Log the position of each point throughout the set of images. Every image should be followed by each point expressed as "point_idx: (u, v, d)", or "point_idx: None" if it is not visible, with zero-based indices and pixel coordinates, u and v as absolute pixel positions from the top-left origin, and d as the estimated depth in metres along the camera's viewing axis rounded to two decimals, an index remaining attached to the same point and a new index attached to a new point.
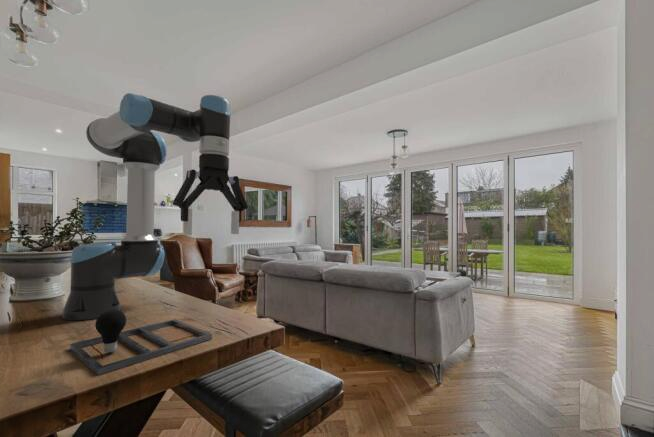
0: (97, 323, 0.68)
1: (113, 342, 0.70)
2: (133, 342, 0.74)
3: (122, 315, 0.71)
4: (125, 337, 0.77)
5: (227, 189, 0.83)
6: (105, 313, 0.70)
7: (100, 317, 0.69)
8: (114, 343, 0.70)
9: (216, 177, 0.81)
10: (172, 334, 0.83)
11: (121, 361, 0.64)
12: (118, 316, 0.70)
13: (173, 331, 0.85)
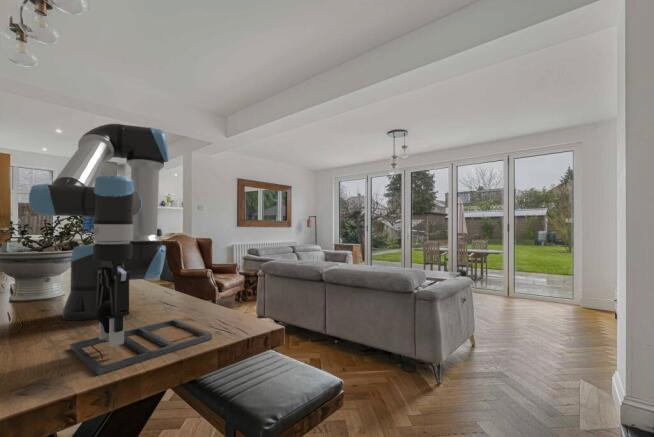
0: (98, 313, 0.69)
1: None
2: (133, 342, 0.74)
3: None
4: (125, 337, 0.77)
5: (107, 285, 0.69)
6: (106, 303, 0.70)
7: (101, 307, 0.69)
8: None
9: (107, 268, 0.70)
10: (172, 334, 0.83)
11: (121, 361, 0.64)
12: None
13: (173, 331, 0.85)
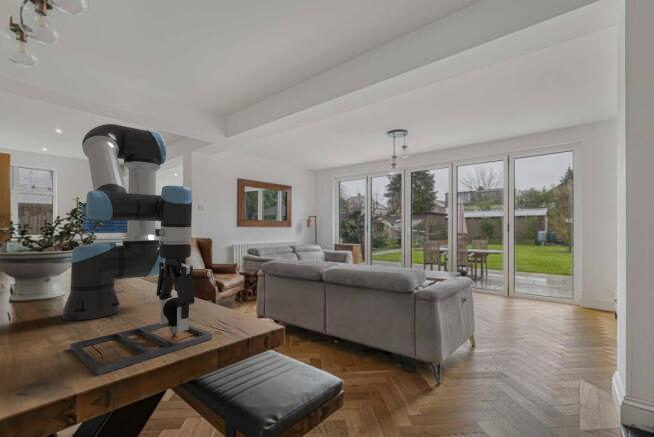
0: (165, 309, 0.80)
1: None
2: (133, 342, 0.74)
3: None
4: (125, 337, 0.77)
5: (173, 279, 0.80)
6: (171, 300, 0.81)
7: (167, 304, 0.80)
8: None
9: (171, 265, 0.82)
10: (172, 334, 0.83)
11: (121, 361, 0.64)
12: None
13: None
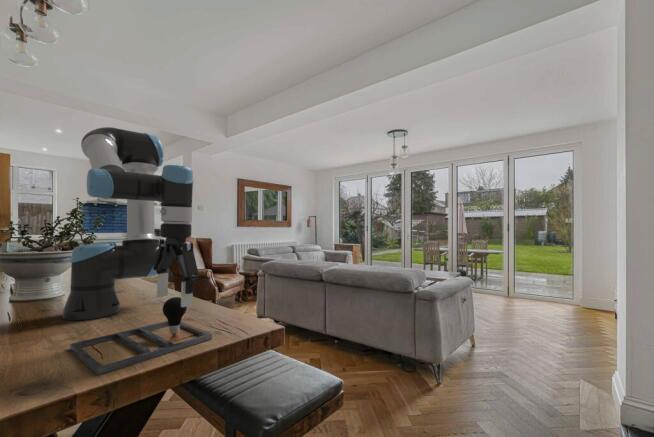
0: (165, 308, 0.80)
1: (177, 325, 0.82)
2: (133, 342, 0.74)
3: None
4: (125, 337, 0.77)
5: (174, 257, 0.80)
6: (171, 299, 0.81)
7: (167, 303, 0.81)
8: (178, 325, 0.82)
9: (171, 245, 0.82)
10: (172, 334, 0.83)
11: (121, 361, 0.64)
12: None
13: None
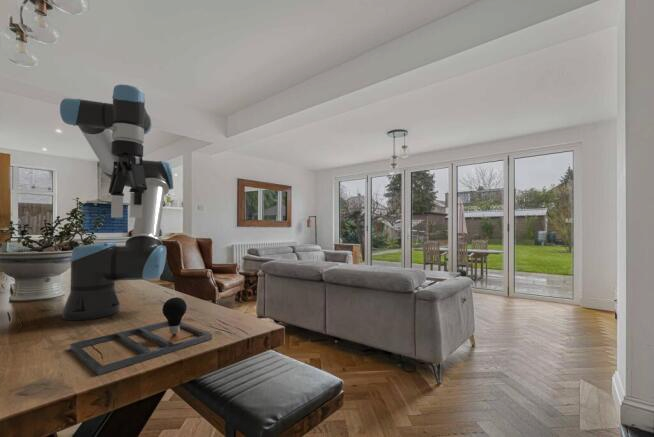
0: (165, 308, 0.80)
1: (177, 325, 0.82)
2: (133, 342, 0.74)
3: (184, 302, 0.83)
4: (125, 337, 0.77)
5: (124, 172, 0.83)
6: (170, 300, 0.81)
7: (167, 303, 0.80)
8: (178, 326, 0.82)
9: None
10: None
11: (121, 361, 0.64)
12: (181, 303, 0.82)
13: None
